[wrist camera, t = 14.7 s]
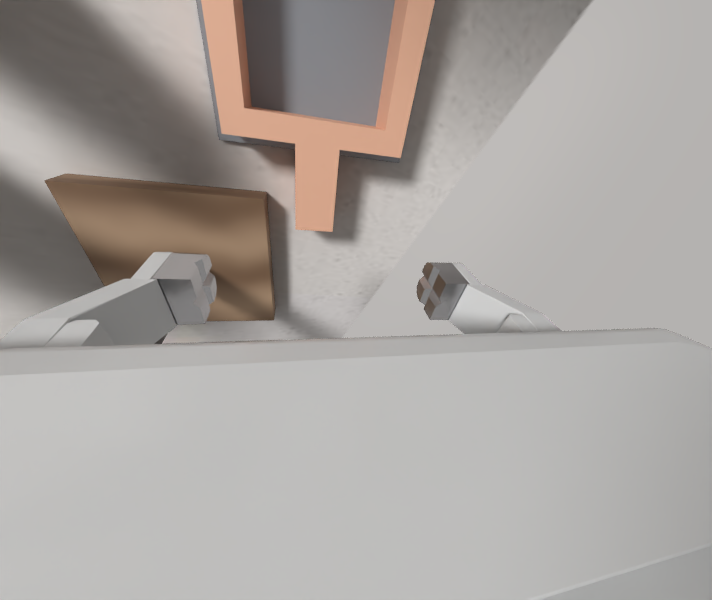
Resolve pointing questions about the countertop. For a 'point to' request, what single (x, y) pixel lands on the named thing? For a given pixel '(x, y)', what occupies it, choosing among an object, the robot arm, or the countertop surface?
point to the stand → (175, 234)
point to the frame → (312, 134)
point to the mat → (314, 60)
